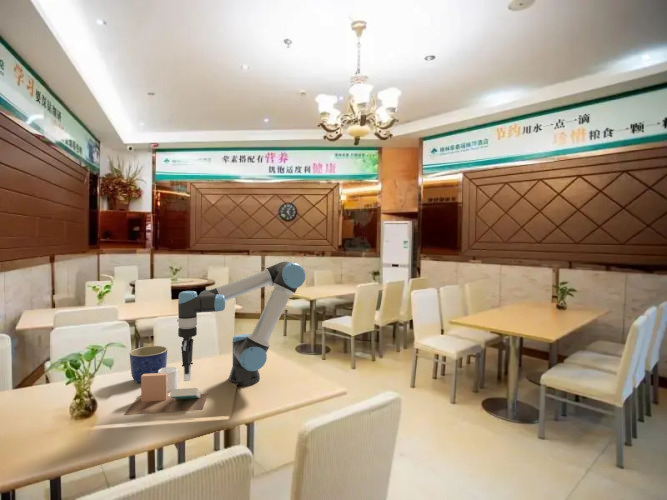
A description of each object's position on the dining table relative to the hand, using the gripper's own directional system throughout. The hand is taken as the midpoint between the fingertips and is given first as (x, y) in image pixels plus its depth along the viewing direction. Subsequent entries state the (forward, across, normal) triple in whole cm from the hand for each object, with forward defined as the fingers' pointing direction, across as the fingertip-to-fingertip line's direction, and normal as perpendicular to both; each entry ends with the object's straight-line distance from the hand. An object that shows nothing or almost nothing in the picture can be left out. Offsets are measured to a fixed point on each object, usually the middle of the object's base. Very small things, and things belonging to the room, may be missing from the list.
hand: (187, 380), depth 164 cm
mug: (+10, -12, -13) cm, 20 cm away
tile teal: (+7, 0, 0) cm, 7 cm away
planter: (+10, -27, -24) cm, 38 cm away
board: (+9, +4, -7) cm, 12 cm away
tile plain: (+8, -1, -14) cm, 16 cm away
